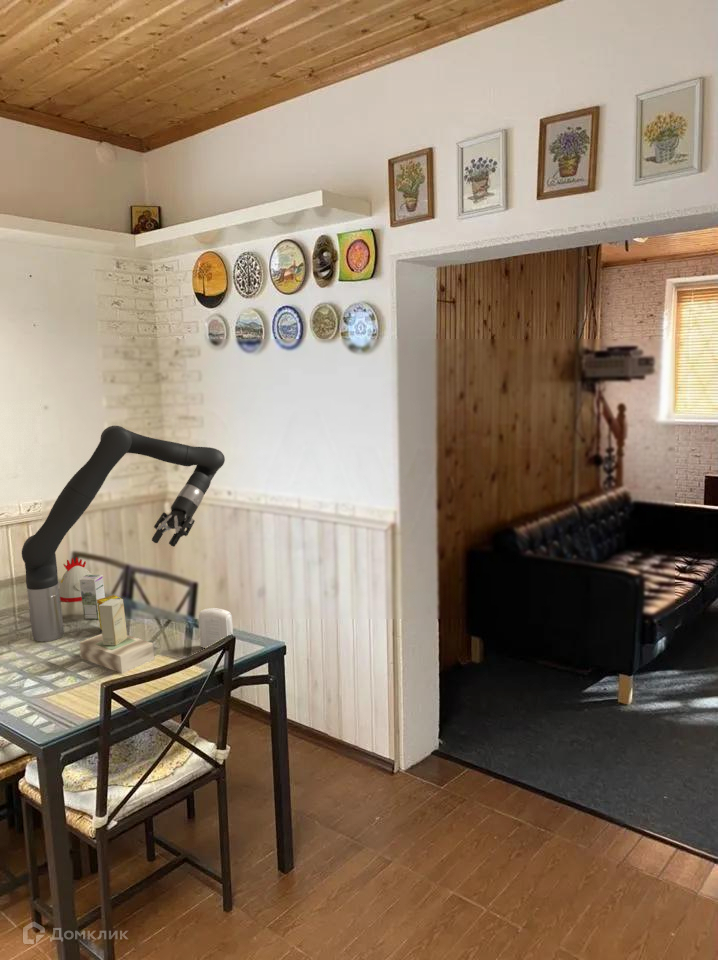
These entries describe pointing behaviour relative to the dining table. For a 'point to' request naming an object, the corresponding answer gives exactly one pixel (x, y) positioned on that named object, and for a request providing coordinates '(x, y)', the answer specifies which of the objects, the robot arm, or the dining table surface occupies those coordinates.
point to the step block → (117, 653)
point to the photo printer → (214, 625)
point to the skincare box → (113, 622)
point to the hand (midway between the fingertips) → (162, 543)
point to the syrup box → (91, 594)
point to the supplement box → (100, 601)
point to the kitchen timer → (72, 581)
